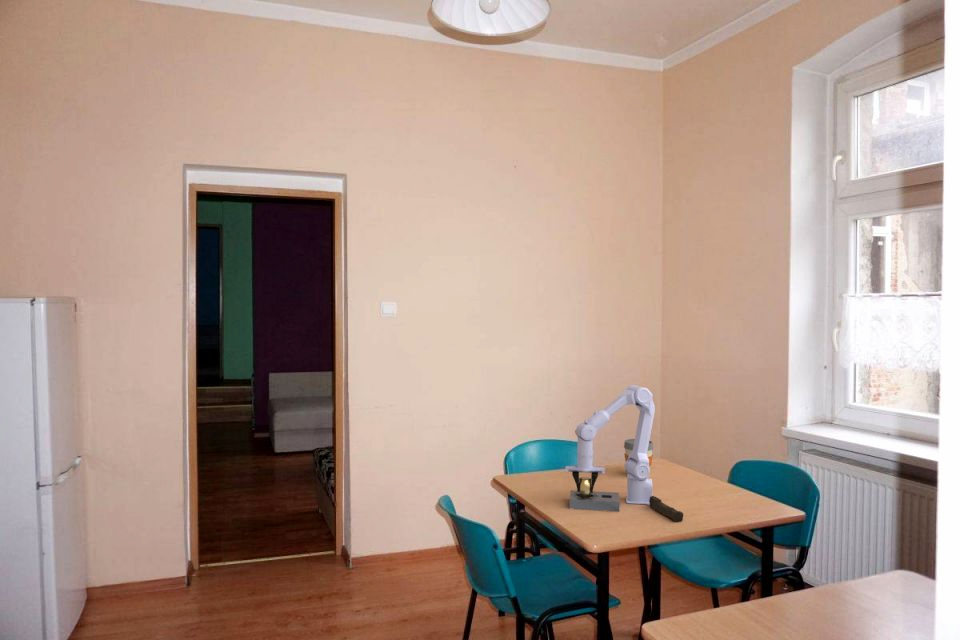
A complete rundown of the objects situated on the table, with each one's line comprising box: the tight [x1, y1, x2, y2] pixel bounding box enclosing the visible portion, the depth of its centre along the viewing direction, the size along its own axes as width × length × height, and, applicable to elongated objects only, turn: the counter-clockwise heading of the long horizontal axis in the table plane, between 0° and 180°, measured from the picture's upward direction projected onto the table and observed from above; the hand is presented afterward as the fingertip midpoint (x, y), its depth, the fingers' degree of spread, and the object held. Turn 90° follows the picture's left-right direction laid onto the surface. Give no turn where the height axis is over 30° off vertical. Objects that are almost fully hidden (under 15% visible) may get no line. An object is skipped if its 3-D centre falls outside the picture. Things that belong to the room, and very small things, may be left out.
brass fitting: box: [579, 476, 591, 498], centre depth 241 cm, size 4×4×7 cm
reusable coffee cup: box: [623, 438, 654, 470], centre depth 283 cm, size 12×12×15 cm
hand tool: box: [648, 495, 684, 523], centre depth 231 cm, size 19×4×5 cm, turn 13°
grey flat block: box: [569, 489, 621, 512], centre depth 241 cm, size 18×12×4 cm, turn 80°
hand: (585, 491), depth 241 cm, fingers closed on brass fitting, 4 cm apart
